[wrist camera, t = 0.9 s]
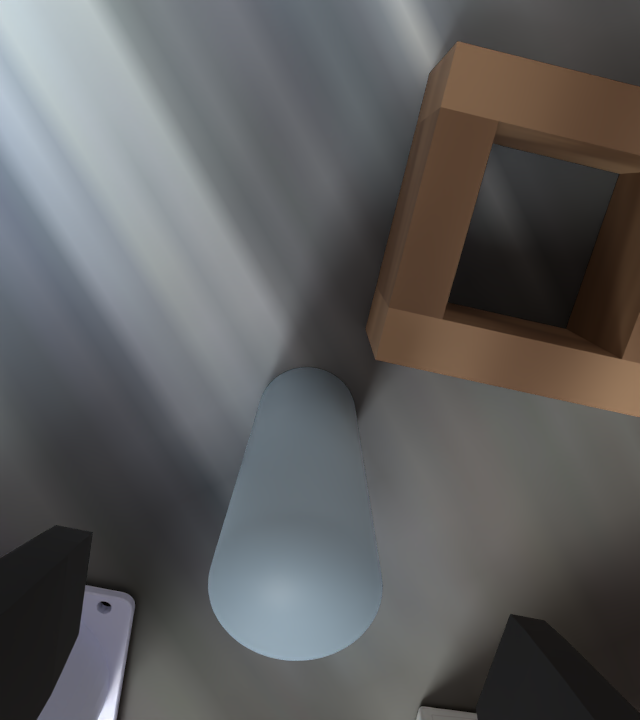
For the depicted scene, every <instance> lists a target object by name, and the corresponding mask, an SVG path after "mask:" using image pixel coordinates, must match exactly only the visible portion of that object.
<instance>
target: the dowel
mask: <svg viewBox="0 0 640 720" xmlns="http://www.w3.org/2000/svg"><path fill="white" fill-rule="evenodd" d="M382 587H383V585H382V575H381V569H380V562H379V556H378V550H377V543H376V537H375V530H374V524H373V518H372V511H371V505H370V499H369V492H368V486H367V479H366V473H365V467H364V460H363V454H362V448H361V441H360V435H359V428H358V422H357V416H356V409H355V404H354V400H353V397H352V395H351V393H350V391H349V389H348V388H347V387H346V385H345V384H344V383H343V382H342V381H341V380H340V379H339V378H338V377H336V376H335V375H333V374H331V373H330V372H327V371H325V370H322V369H319V368H313V367H301V368H295V369H291V370H289V371H286V372H284V373H282V374H280V375H279V376H278V377H276V378H275V379H274V380H273V381H272V382H271V383H270V384H269V385H268V386H267V388H266V389H265V391H264V393H263V395H262V397H261V401H260V404H259V407H258V411H257V414H256V417H255V421H254V424H253V427H252V431H251V434H250V437H249V441H248V444H247V447H246V451H245V454H244V457H243V461H242V464H241V467H240V471H239V474H238V477H237V481H236V484H235V487H234V491H233V494H232V497H231V501H230V504H229V507H228V511H227V514H226V517H225V521H224V524H223V527H222V531H221V534H220V537H219V541H218V544H217V547H216V551H215V554H214V557H213V561H212V564H211V568H210V571H209V578H208V593H209V598H210V602H211V605H212V608H213V611H214V613H215V615H216V617H217V619H218V620H219V622H220V623H221V625H222V626H223V628H224V629H225V630H226V631H227V632H228V633H229V634H230V635H231V636H232V637H233V638H234V639H235V640H237V641H238V642H239V643H241V644H242V645H244V646H245V647H247V648H249V649H251V650H253V651H255V652H257V653H259V654H262V655H265V656H267V657H271V658H276V659H281V660H289V661H302V660H312V659H317V658H322V657H325V656H328V655H331V654H334V653H336V652H338V651H340V650H342V649H344V648H346V647H347V646H349V645H350V644H352V643H353V642H354V641H356V640H357V639H358V638H359V637H360V636H361V635H362V634H363V633H364V632H365V631H366V630H367V629H368V627H369V626H370V625H371V623H372V621H373V620H374V618H375V616H376V614H377V612H378V609H379V606H380V602H381V598H382Z"/></svg>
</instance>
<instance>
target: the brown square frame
mask: <svg viewBox="0 0 640 720" xmlns="http://www.w3.org/2000/svg"><path fill="white" fill-rule="evenodd" d="M492 144H497V145H501V146H506V147H510V148H514V149H518V150H522V151H526V152H531V153H535V154H539V155H543V156H547V157H551V158H555V159H560V160H564V161H568V162H572V163H576V164H580V165H585V166H589V167H593V168H597V169H601V170H605V171H609V172H614V173H618V174H619V177H618V180H617V182H616V185H615V188H614V191H613V194H612V197H611V200H610V203H609V206H608V209H607V212H606V214H605V217H604V220H603V223H602V226H601V229H600V232H599V235H598V238H597V241H596V243H595V246H594V249H593V252H592V255H591V258H590V261H589V264H588V267H587V270H586V272H585V275H584V278H583V281H582V284H581V287H580V290H579V293H578V296H577V299H576V301H575V304H574V307H573V310H572V313H571V316H570V319H569V322H568V325H567V328H566V329H564V328H560V327H555V326H551V325H547V324H542V323H538V322H533V321H529V320H524V319H520V318H515V317H511V316H506V315H502V314H498V313H493V312H489V311H484V310H480V309H475V308H471V307H466V306H462V305H457V304H453V303H448V298H449V295H450V291H451V288H452V284H453V281H454V277H455V273H456V270H457V266H458V263H459V259H460V256H461V252H462V249H463V245H464V242H465V238H466V235H467V231H468V228H469V224H470V221H471V217H472V214H473V210H474V207H475V203H476V200H477V196H478V193H479V189H480V186H481V182H482V179H483V175H484V172H485V168H486V165H487V161H488V158H489V154H490V151H491V147H492ZM366 332H367V335H368V339H369V342H370V345H371V348H372V351H373V354H374V357H375V360H379V361H384V362H388V363H393V364H397V365H402V366H407V367H411V368H416V369H420V370H425V371H430V372H434V373H439V374H443V375H448V376H453V377H457V378H462V379H466V380H471V381H476V382H480V383H485V384H489V385H494V386H499V387H503V388H508V389H512V390H517V391H522V392H526V393H531V394H535V395H540V396H545V397H549V398H554V399H559V400H563V401H568V402H572V403H577V404H582V405H586V406H591V407H595V408H600V409H605V410H609V411H614V412H618V413H623V414H628V415H632V416H637V417H640V87H639V86H635V85H631V84H627V83H623V82H619V81H615V80H611V79H607V78H603V77H599V76H595V75H591V74H587V73H583V72H579V71H575V70H571V69H567V68H563V67H559V66H555V65H551V64H547V63H543V62H539V61H535V60H531V59H527V58H523V57H519V56H515V55H511V54H507V53H503V52H499V51H495V50H491V49H487V48H483V47H479V46H475V45H471V44H467V43H463V42H459V41H457V43H456V44H455V45H454V46H453V47H452V48H451V49H450V50H449V52H448V53H447V54H446V55H445V56H444V57H443V58H442V60H441V61H440V62H439V63H438V64H437V65H436V66H435V68H434V69H433V70H432V71H431V72H430V73H429V77H428V81H427V85H426V89H425V93H424V97H423V101H422V105H421V109H420V113H419V117H418V121H417V125H416V129H415V133H414V137H413V141H412V145H411V149H410V153H409V157H408V161H407V165H406V169H405V173H404V177H403V181H402V185H401V189H400V193H399V197H398V201H397V205H396V209H395V213H394V217H393V221H392V225H391V229H390V233H389V237H388V241H387V245H386V249H385V253H384V257H383V261H382V265H381V269H380V273H379V277H378V281H377V285H376V289H375V293H374V297H373V301H372V305H371V309H370V313H369V317H368V321H367V325H366Z"/></svg>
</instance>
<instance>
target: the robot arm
mask: <svg viewBox="0 0 640 720" xmlns="http://www.w3.org/2000/svg"><path fill="white" fill-rule="evenodd" d="M92 533H93V532H88V531H83V530H78V529H72V528H67V527H62V526H57V525H56V526H54V527H52V528H50V529H49V530H47V531H45V532H43V533H42V534H40V535H38V536H37V537H35V538H33V539H32V540H30V541H28V542H27V543H25V544H23V545H22V546H20V547H19V548H17V549H15V550H14V551H12V552H10V553H9V554H7V555H5V556H4V557H2V558H0V720H117V714H118V708H119V702H120V696H121V690H122V683H123V677H124V671H125V665H126V659H127V653H128V647H129V640H130V634H131V628H132V622H133V616H134V610H135V601H134V600H133V598H132V597H131V596H130V595H129V594H127V593H124V592H120V591H115V590H109V589H104V588H99V587H93V586H88V585H86V578H87V570H88V563H89V556H90V548H91V541H92ZM101 601H105V602H108V603H109V604H110V605H111V606H105V605H103V604H102V603H101ZM476 712H477V719H478V720H640V713H639V712H638V711H637V710H636V709H635V708H633V707H632V706H631V705H630V704H629V703H628V702H627V701H626V700H625V699H624V698H623V697H622V696H621V695H620V694H619V693H618V692H617V691H616V690H615V689H614V688H613V687H612V686H611V685H610V684H609V683H608V682H607V681H606V680H605V679H604V678H603V677H602V676H601V675H600V674H599V673H598V672H597V671H596V670H595V669H594V668H593V667H592V666H591V665H590V664H589V663H588V662H587V661H586V660H585V659H584V658H583V657H582V656H581V655H580V654H579V653H578V652H577V651H576V650H575V649H574V648H573V647H572V646H571V645H570V644H569V643H568V642H567V641H566V640H565V639H564V638H563V637H562V636H561V635H560V634H559V633H558V632H557V631H556V630H554V629H553V628H552V627H551V626H550V625H549V624H548V623H546V622H545V621H543V620H538V619H533V618H528V617H523V616H518V615H513V614H510V616H509V619H508V622H507V624H506V627H505V630H504V633H503V635H502V638H501V641H500V643H499V646H498V649H497V652H496V654H495V657H494V660H493V662H492V665H491V668H490V671H489V673H488V676H487V679H486V681H485V684H484V687H483V690H482V692H481V695H480V698H479V700H478V703H477V706H476Z"/></svg>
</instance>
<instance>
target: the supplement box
mask: <svg viewBox="0 0 640 720" xmlns="http://www.w3.org/2000/svg"><path fill="white" fill-rule="evenodd" d="M416 720H478V719H477V713H471V712H463V711H456V710H448V709H439V708H432V707H425V706H421V707H420V708H419V711H418V714H417V718H416Z"/></svg>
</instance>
